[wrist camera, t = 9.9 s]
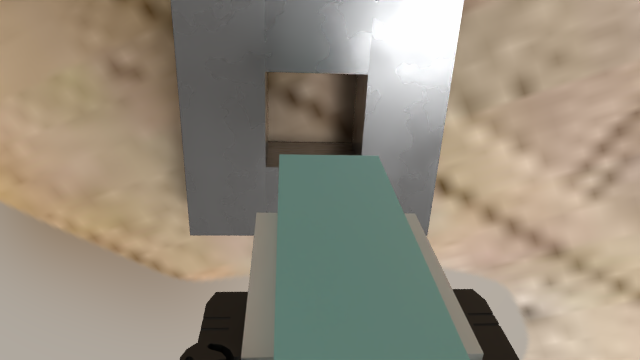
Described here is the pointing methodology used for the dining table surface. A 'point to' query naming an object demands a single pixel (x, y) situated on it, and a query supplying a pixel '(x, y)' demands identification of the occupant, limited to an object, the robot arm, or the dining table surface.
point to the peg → (352, 268)
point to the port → (308, 57)
